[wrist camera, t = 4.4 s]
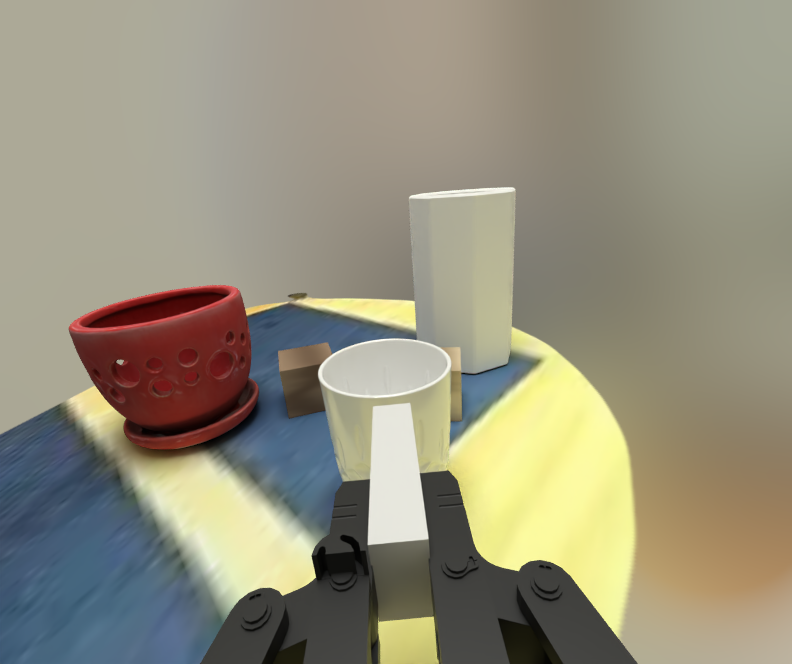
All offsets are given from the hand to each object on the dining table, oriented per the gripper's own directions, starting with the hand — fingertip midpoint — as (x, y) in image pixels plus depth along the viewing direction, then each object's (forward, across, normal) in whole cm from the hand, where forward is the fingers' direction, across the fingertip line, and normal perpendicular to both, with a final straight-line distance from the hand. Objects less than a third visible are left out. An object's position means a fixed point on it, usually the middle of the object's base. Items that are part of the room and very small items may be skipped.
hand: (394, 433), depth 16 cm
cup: (+30, +8, -10) cm, 33 cm away
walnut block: (+22, -8, -10) cm, 26 cm away
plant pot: (+20, -20, -10) cm, 30 cm away
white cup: (+8, 0, -10) cm, 13 cm away
